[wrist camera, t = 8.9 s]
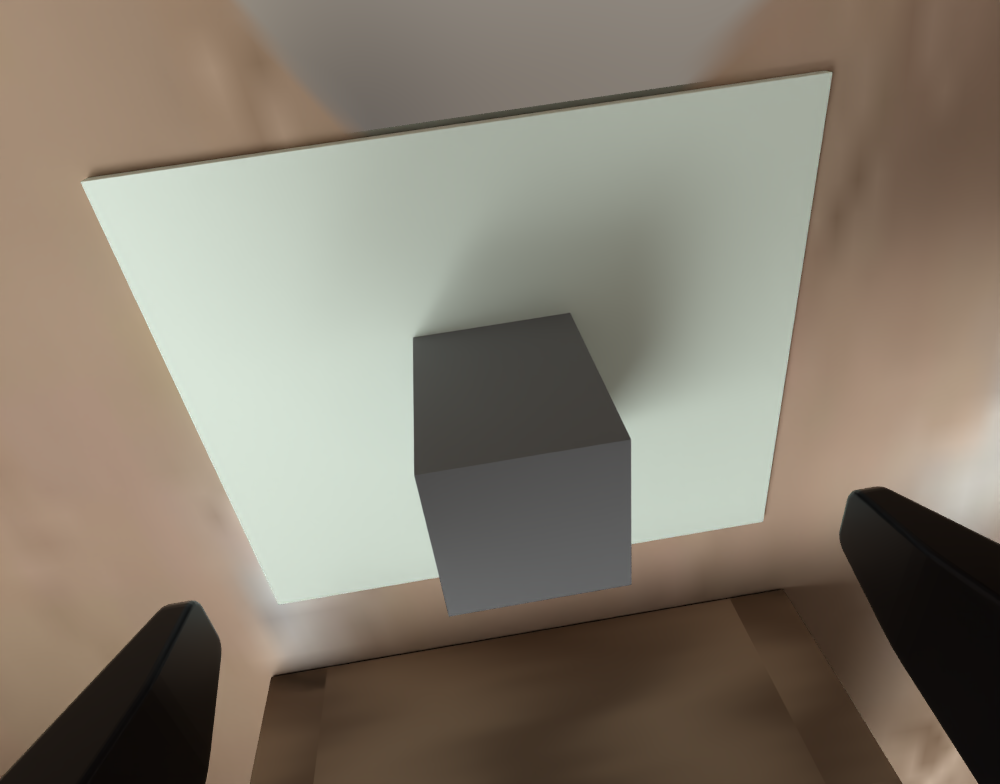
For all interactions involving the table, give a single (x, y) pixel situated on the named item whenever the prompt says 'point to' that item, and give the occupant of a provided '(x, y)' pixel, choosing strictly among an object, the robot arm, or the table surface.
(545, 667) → the walnut box
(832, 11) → the table surface
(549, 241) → the cover plate
